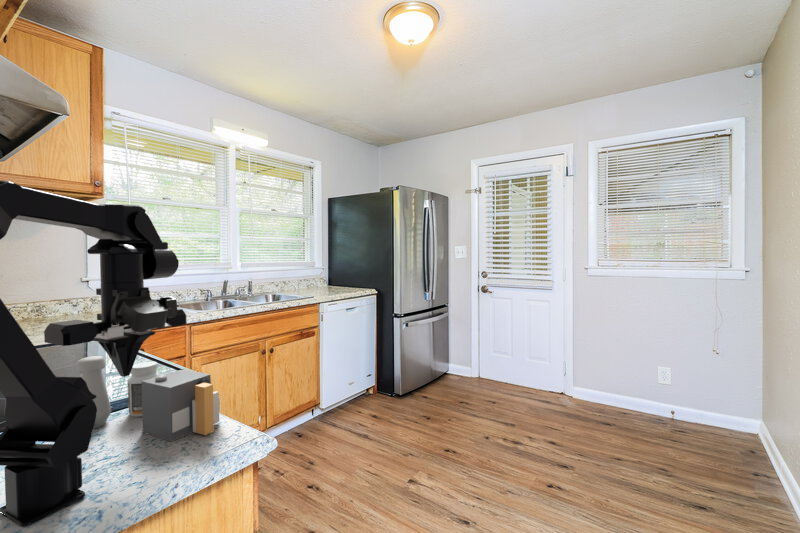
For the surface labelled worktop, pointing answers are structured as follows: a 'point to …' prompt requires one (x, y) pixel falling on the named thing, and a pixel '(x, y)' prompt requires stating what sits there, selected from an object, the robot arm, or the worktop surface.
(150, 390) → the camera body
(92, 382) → the salt shaker
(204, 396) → the wooden upright post
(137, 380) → the pill bottle
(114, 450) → the worktop surface
